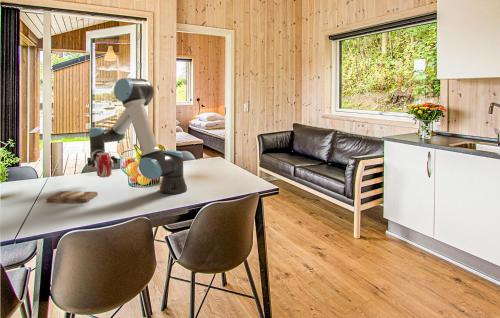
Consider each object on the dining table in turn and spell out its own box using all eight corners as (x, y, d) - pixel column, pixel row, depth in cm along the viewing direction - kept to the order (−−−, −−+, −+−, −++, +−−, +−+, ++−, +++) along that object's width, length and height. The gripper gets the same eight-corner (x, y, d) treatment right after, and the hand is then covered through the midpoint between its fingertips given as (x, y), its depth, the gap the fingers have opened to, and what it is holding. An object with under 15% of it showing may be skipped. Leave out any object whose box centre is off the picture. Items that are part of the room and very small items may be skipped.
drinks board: (97, 195, 188) (97, 190, 187) (86, 202, 175) (85, 197, 175) (60, 194, 188) (60, 190, 187) (46, 202, 175) (46, 197, 175)
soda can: (94, 176, 179) (92, 153, 177) (107, 174, 184) (105, 151, 182) (101, 178, 174) (100, 155, 172) (114, 176, 180) (113, 153, 178)
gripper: (119, 162, 199) (125, 170, 179) (80, 165, 190) (83, 174, 170) (118, 149, 198) (125, 155, 178) (79, 151, 188) (82, 158, 168)
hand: (104, 164), depth 174 cm, fingers closed on soda can, 7 cm apart
